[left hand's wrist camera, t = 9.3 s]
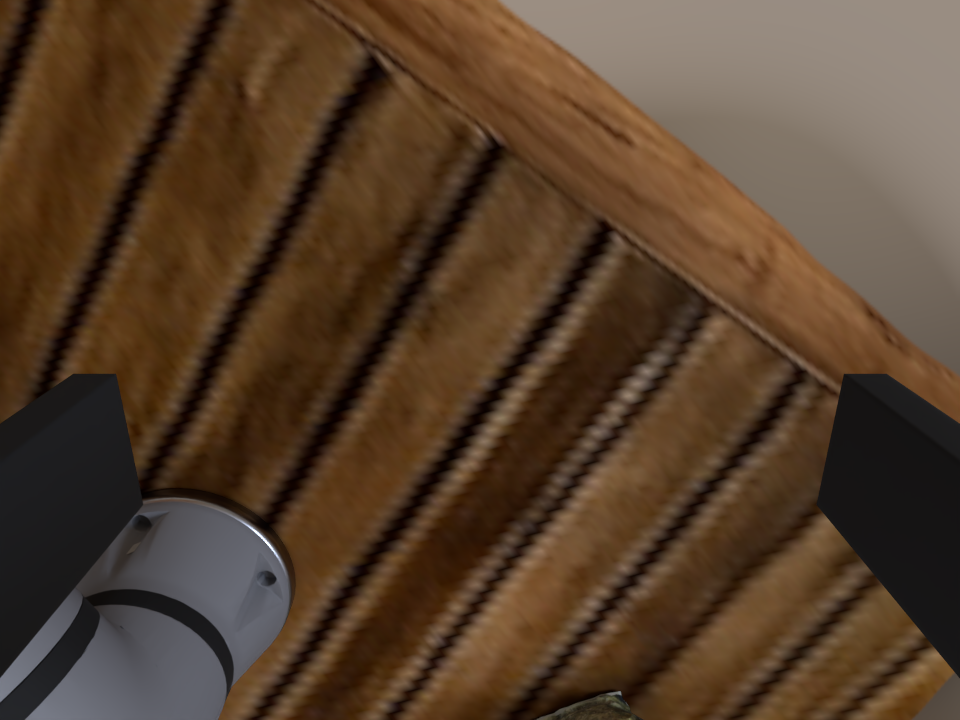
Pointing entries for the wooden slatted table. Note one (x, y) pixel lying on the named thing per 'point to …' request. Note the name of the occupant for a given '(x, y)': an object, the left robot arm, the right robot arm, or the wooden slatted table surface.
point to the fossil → (595, 709)
